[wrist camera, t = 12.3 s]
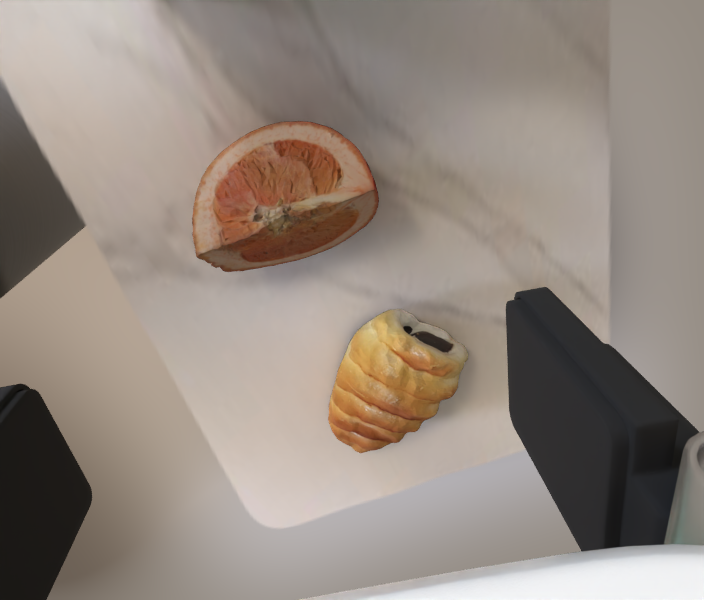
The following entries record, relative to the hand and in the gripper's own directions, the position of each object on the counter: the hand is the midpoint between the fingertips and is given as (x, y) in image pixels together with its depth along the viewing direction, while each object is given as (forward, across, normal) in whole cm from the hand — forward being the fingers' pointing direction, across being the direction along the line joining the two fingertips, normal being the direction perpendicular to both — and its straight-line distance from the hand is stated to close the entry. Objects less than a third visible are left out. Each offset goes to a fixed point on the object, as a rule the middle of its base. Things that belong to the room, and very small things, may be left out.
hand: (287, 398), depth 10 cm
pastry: (+18, -3, +12) cm, 22 cm away
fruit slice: (+18, +1, 0) cm, 18 cm away
